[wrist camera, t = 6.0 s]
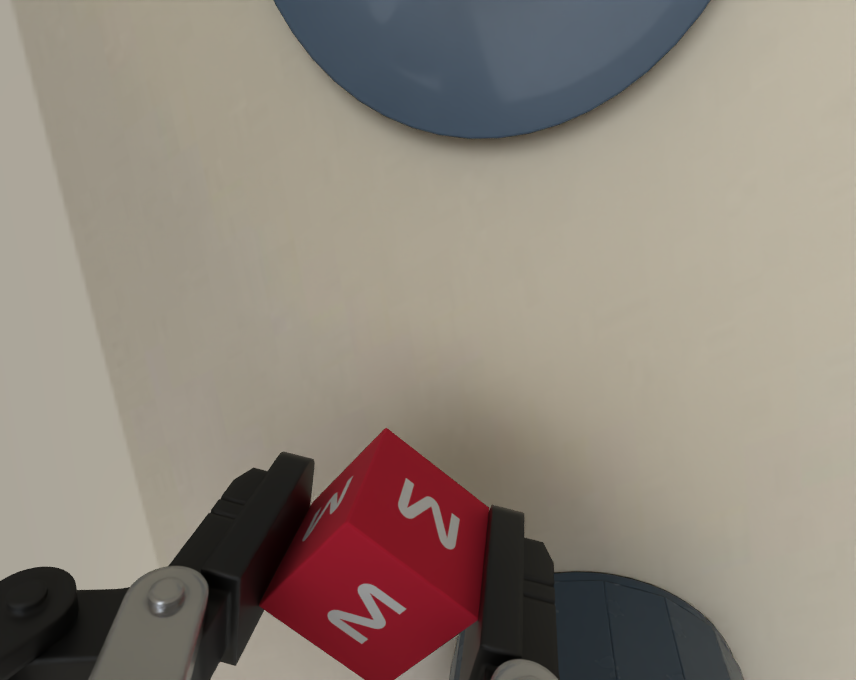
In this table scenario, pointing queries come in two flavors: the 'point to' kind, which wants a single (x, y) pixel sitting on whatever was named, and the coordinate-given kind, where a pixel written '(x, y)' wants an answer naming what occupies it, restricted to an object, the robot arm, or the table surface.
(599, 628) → the tin
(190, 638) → the robot arm
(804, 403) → the table surface
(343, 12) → the lid
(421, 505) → the dice
